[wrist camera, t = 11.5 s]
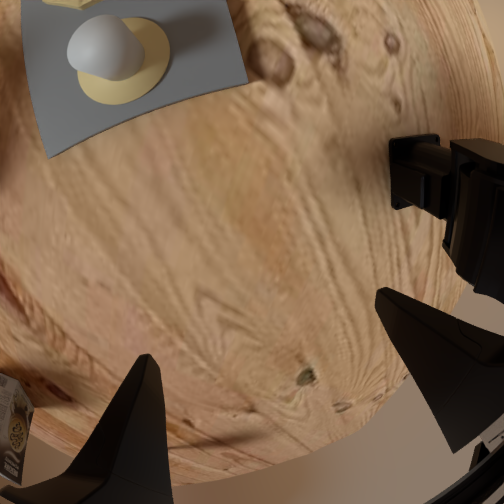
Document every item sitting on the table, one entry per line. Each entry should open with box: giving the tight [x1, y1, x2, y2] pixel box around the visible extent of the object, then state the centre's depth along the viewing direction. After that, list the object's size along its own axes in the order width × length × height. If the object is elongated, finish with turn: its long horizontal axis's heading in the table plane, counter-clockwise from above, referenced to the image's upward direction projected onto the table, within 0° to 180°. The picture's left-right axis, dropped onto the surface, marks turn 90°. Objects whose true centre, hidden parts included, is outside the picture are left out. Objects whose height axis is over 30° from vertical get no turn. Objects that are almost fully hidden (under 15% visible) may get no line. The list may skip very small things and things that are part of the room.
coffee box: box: [0, 373, 34, 486], centre depth 18 cm, size 9×6×16 cm
